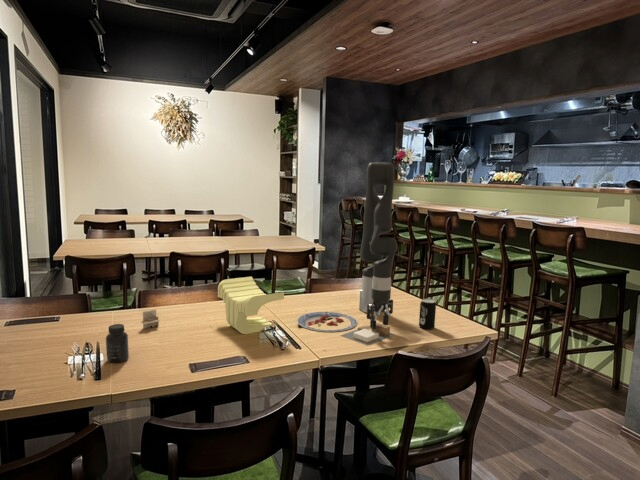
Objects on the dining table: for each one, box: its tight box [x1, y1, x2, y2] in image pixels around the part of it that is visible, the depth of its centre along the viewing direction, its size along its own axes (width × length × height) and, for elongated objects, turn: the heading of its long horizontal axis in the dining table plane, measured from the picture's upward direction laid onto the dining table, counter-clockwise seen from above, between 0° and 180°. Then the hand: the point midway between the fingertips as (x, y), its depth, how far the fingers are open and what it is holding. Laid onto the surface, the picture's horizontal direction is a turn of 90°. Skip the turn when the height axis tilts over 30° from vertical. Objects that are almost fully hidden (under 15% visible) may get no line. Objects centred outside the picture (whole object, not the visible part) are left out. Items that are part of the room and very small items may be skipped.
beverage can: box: [418, 298, 437, 331], centre depth 195 cm, size 7×7×12 cm
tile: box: [353, 329, 379, 343], centre depth 176 cm, size 2×7×7 cm
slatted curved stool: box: [217, 276, 285, 335], centre depth 188 cm, size 30×16×18 cm, turn 34°
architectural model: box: [140, 308, 160, 329], centre depth 185 cm, size 3×7×7 cm, turn 133°
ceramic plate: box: [296, 311, 358, 333], centre depth 195 cm, size 26×26×3 cm
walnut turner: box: [357, 322, 391, 337], centre depth 184 cm, size 13×6×4 cm, turn 45°
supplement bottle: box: [105, 323, 130, 365], centre depth 153 cm, size 7×7×12 cm
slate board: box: [340, 329, 397, 347], centre depth 180 cm, size 14×18×2 cm
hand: (379, 326), depth 182 cm, fingers open, 7 cm apart
